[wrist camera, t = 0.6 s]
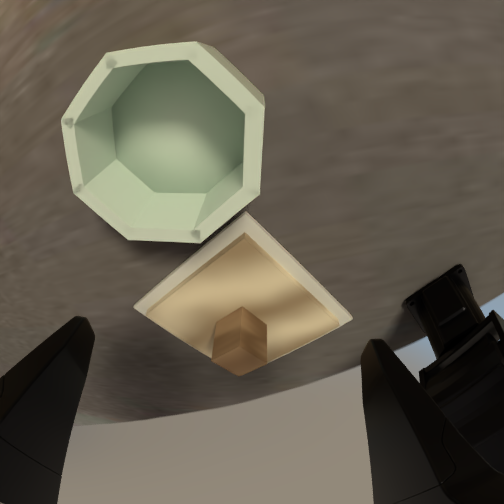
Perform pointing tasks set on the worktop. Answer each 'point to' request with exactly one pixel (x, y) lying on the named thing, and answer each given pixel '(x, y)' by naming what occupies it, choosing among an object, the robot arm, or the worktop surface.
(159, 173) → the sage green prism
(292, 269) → the mat
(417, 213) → the worktop surface
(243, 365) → the lid
